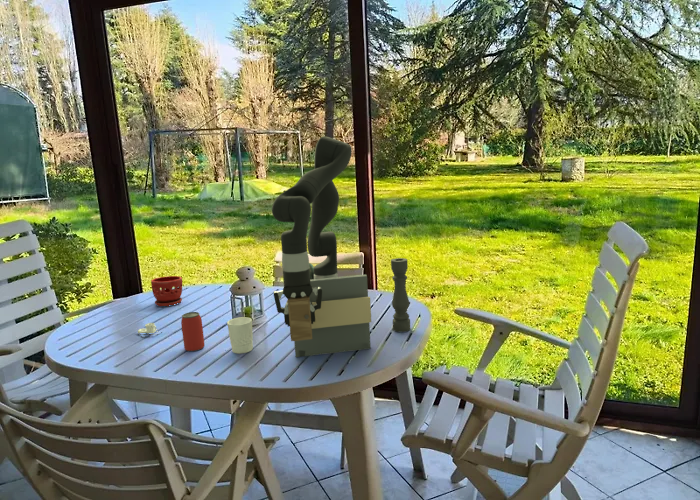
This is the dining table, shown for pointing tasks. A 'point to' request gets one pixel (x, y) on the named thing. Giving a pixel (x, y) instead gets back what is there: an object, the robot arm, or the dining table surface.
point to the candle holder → (400, 295)
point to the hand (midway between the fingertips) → (300, 324)
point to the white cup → (241, 334)
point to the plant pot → (167, 290)
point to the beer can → (192, 331)
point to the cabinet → (300, 318)
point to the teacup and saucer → (148, 328)
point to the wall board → (339, 317)
